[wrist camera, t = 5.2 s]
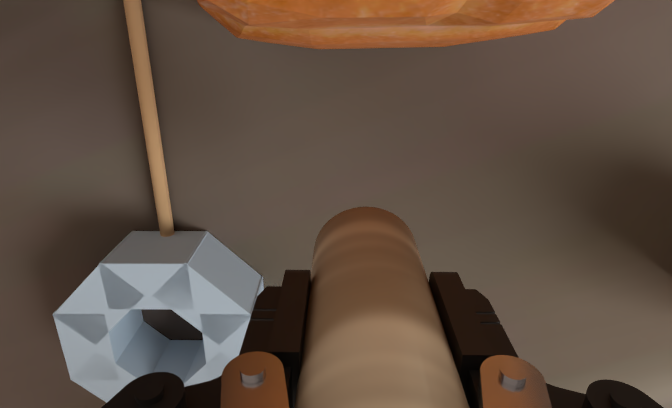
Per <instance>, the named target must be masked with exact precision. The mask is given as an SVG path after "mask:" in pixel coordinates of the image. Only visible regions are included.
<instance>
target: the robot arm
mask: <svg viewBox="0 0 672 408" xmlns="http://www.w3.org/2000/svg"><path fill="white" fill-rule="evenodd" d="M310 285H311V272H310V270H286V271H285V274H284V279H283V283H282V287H271V286H267V287H266V288H265V289H264V290H263V291H262V292H261V293H260V294H259V295H258V296H257V298H256V301H255V304H254V307H253V311H252V314H251V317H250V321H249V324H248V327H247V330H246V333H245V337H244V340H243V343H242V346H241V350H240V353H239V356H237V357H235V358H234V359H232V360H231V361H230V362H229V363H228V364H227V365H226V366H225V368H224V370H223V372H222V375H221V376H219V377H218V378H215V379H213V380H210V381H207V382H203V383H199V384H194V385H190V386H186V387H184V383H183V381H182V380H181V378H180V377H178V376H177V375H175V374H173V373H169V372H154V373H149V374H146V375H143V376H140V377H138V378H136V379H134V380H133V381H131V382H130V383H129V384H127V385H126V386H125V387H124V388H123V389H122V390H120V391H119V392H118V393H117V394H116V395H115V396H114V397H113V398H112V399H110V400H109V401H108V402H107V403H106V404H105V405H104V406H103V407H102V408H294V407H295V399H296V391H297V384H298V379H299V375H300V369H301V360H302V352H303V344H304V335H305V327H306V319H307V310H308V302H309V294H310ZM429 285H430V288H431V292H432V295H433V298H434V301H435V304H436V307H437V310H438V313H439V316H440V319H441V322H442V325H443V328H444V331H445V334H446V337H447V340H448V344H449V347H450V350H451V353H452V356H453V359H454V362H455V365H456V368H457V371H458V374H459V377H460V380H461V383H462V386H463V389H464V392H465V396H466V399H467V402H468V405H469V408H663V407H662V406H661V405H659V404H658V403H657V402H655V401H654V400H653V399H651V398H650V397H649V396H648V395H646V394H645V393H643V392H642V391H640V390H638V389H637V388H635V387H633V386H630V385H628V384H625V383H622V382H619V381H614V380H598V381H595V382H593V383H591V384H590V385H589V387H588V388H587V392H586V394H582V393H578V392H574V391H570V390H566V389H562V388H559V387H555V386H552V385H550V384H547V383H546V382H545V380H544V377H543V376H542V374H541V373H540V372H539V371H538V370H537V369H536V368H535V367H534V366H533V365H531V364H530V363H528V362H526V361H524V360H522V359H520V358H518V356H517V354H516V352H515V350H514V348H513V346H512V344H511V342H510V340H509V338H508V336H507V335H506V333H505V331H504V329H503V327H502V325H500V321H499V319H498V317H497V315H496V314H495V312H494V310H493V308H492V306H491V304H490V302H489V300H488V299H487V298H485V297H484V296H483V295H482V294H481V293H479V292H478V291H477V290H476V289H465V288H464V286H463V284H462V281H461V279H460V277H459V275H458V273H457V272H431V274H430V277H429Z"/></svg>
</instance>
